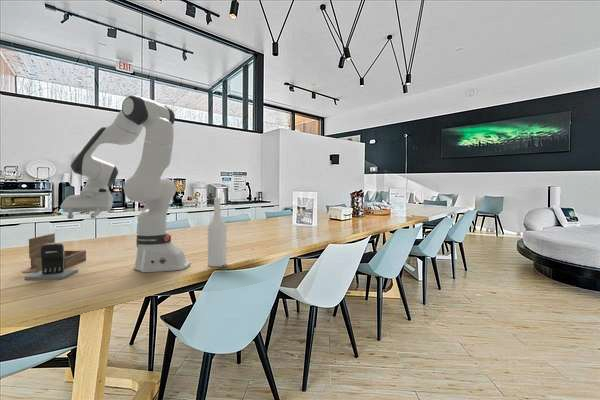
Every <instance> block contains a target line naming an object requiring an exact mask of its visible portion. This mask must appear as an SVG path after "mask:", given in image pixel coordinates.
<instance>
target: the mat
mask: <svg viewBox="0 0 600 400" xmlns="http://www.w3.org/2000/svg"><path fill="white" fill-rule="evenodd" d="M76 273H79V269H64V271H63V272H60V273H53V274H42V271H39V272H33V273H32V274H29V275H26V276H24V280H26V281H27V280H28V281H29V280H30V281H31V280H38V281H39V280H63V279H66V278H68V277H70V276H73V275H74V274H76Z"/></svg>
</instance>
